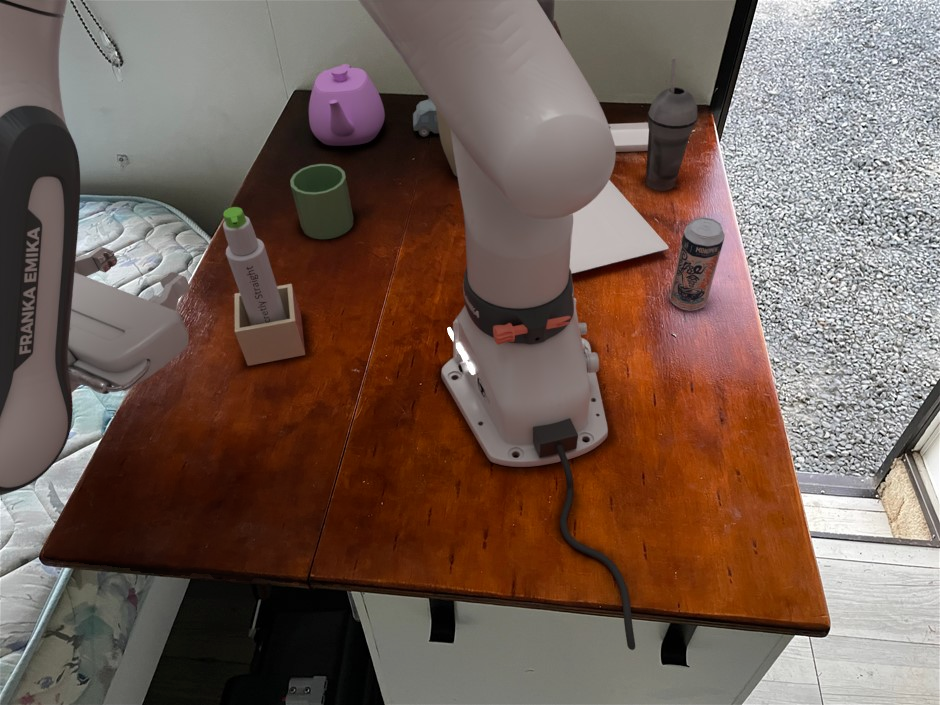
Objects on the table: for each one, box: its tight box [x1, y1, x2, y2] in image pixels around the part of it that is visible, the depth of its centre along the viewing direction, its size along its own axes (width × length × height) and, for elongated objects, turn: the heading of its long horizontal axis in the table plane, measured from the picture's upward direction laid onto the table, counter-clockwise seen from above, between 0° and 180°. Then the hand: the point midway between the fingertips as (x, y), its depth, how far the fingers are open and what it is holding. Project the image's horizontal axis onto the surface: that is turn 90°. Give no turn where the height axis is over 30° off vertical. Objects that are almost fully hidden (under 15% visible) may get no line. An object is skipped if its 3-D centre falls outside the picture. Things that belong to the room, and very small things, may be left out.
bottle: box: [222, 206, 287, 326], centre depth 85 cm, size 4×4×20 cm
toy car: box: [412, 97, 439, 138], centre depth 127 cm, size 6×10×5 cm, turn 93°
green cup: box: [289, 163, 355, 240], centre depth 106 cm, size 8×8×8 cm
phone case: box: [608, 122, 649, 153], centre depth 122 cm, size 7×1×15 cm
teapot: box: [308, 63, 386, 147], centre depth 123 cm, size 20×13×12 cm, turn 2°
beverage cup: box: [645, 58, 699, 192], centre depth 106 cm, size 7×7×20 cm
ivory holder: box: [234, 283, 306, 367], centre depth 90 cm, size 7×7×6 cm
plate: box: [570, 179, 670, 275], centre depth 105 cm, size 22×22×2 cm
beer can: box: [669, 217, 725, 311], centre depth 90 cm, size 5×5×12 cm
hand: (145, 266), depth 69 cm, fingers open, 8 cm apart
